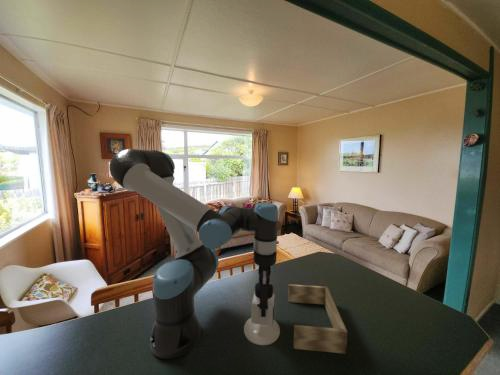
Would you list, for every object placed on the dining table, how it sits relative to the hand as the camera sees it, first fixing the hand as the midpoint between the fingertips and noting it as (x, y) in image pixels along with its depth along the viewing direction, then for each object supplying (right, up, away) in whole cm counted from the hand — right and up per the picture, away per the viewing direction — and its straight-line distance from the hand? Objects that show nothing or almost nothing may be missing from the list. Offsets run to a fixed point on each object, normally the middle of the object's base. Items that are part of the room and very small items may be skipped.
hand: (263, 314), depth 70 cm
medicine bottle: (0, -1, 0) cm, 1 cm away
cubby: (+17, -4, +2) cm, 17 cm away
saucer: (-1, -4, -1) cm, 5 cm away
